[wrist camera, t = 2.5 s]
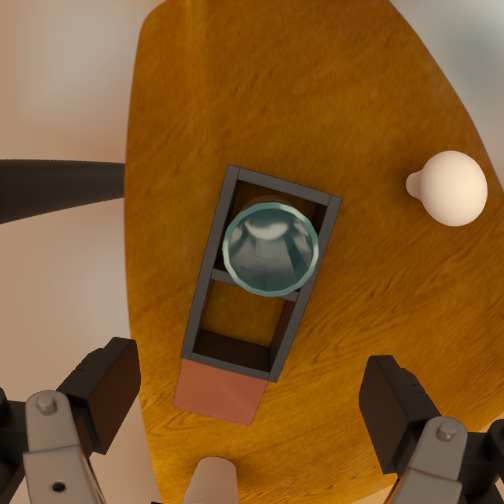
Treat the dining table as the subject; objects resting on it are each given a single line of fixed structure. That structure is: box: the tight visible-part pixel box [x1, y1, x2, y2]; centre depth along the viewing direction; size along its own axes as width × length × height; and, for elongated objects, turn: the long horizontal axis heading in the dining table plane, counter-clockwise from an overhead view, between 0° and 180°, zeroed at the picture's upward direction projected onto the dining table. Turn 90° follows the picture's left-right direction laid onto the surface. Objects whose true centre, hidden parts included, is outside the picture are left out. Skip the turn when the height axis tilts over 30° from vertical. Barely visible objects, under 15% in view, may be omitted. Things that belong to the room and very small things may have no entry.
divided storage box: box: [180, 165, 342, 383], centre depth 30 cm, size 10×18×5 cm, turn 164°
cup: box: [222, 195, 319, 297], centre depth 26 cm, size 6×6×10 cm
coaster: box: [173, 358, 268, 426], centre depth 35 cm, size 10×10×1 cm
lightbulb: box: [406, 151, 487, 226], centre depth 24 cm, size 6×6×11 cm
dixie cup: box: [182, 457, 239, 504], centre depth 34 cm, size 8×8×10 cm
